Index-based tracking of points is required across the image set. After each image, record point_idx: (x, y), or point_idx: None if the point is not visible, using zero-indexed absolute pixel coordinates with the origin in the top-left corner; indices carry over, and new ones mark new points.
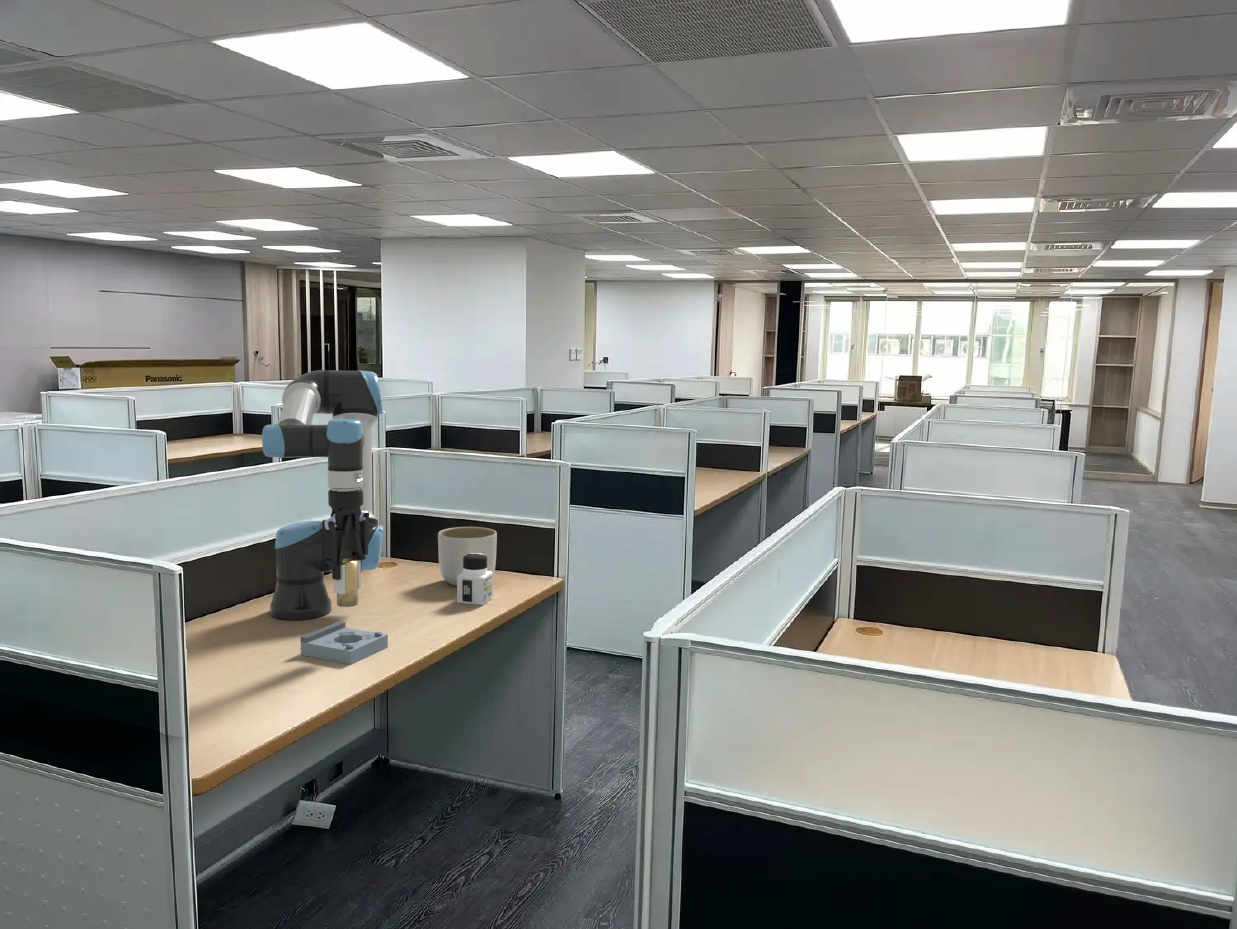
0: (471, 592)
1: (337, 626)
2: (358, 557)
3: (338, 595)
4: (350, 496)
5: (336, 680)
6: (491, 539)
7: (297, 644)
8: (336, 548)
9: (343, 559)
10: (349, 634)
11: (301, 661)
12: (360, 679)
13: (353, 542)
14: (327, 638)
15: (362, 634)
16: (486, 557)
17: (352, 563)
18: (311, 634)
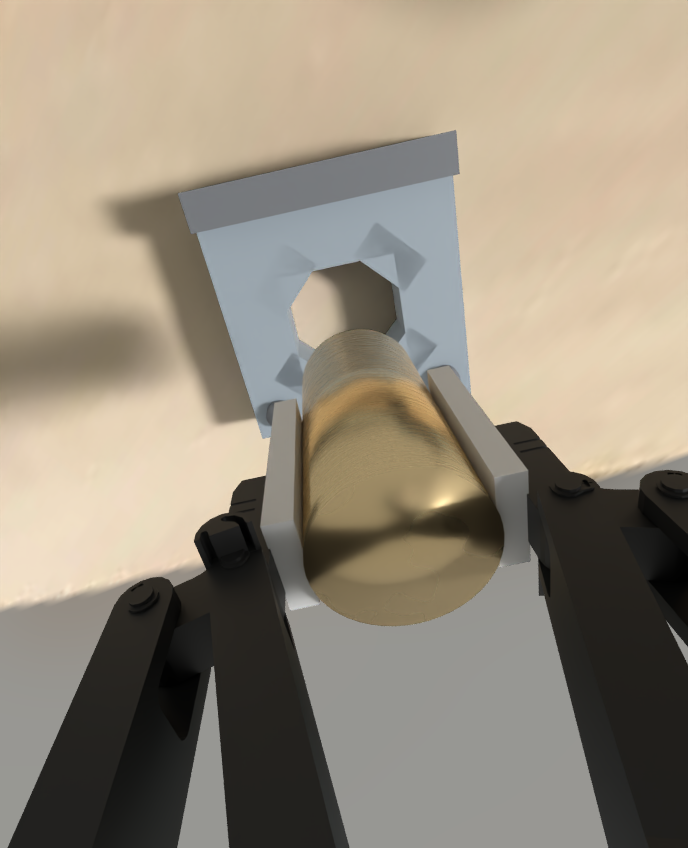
0: None
1: (400, 186)
2: (539, 565)
3: (302, 405)
4: None
5: (158, 485)
6: None
7: (261, 34)
8: (177, 827)
9: (432, 487)
10: (389, 278)
11: (159, 260)
12: None
13: (586, 705)
14: (295, 249)
15: (420, 320)
16: None
17: (384, 622)
18: (234, 206)
